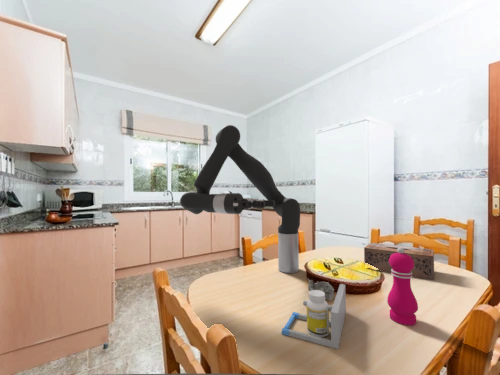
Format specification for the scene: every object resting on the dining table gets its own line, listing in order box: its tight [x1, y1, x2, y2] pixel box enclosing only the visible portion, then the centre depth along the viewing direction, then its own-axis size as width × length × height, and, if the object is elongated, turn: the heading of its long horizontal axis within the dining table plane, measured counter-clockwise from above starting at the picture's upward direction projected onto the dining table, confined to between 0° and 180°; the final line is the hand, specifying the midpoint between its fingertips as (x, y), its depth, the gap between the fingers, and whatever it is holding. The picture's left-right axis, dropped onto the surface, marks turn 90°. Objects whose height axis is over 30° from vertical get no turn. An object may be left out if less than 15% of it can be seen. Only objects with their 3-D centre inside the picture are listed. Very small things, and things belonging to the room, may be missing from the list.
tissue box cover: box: [363, 242, 435, 281], centre depth 109 cm, size 26×14×10 cm, turn 51°
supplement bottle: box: [306, 289, 330, 338], centre depth 61 cm, size 5×5×10 cm
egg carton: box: [307, 278, 335, 301], centre depth 84 cm, size 11×8×4 cm
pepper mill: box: [386, 247, 419, 326], centre depth 66 cm, size 7×7×20 cm
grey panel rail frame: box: [281, 283, 347, 350], centre depth 65 cm, size 19×14×8 cm
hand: (269, 204), depth 79 cm, fingers open, 8 cm apart
